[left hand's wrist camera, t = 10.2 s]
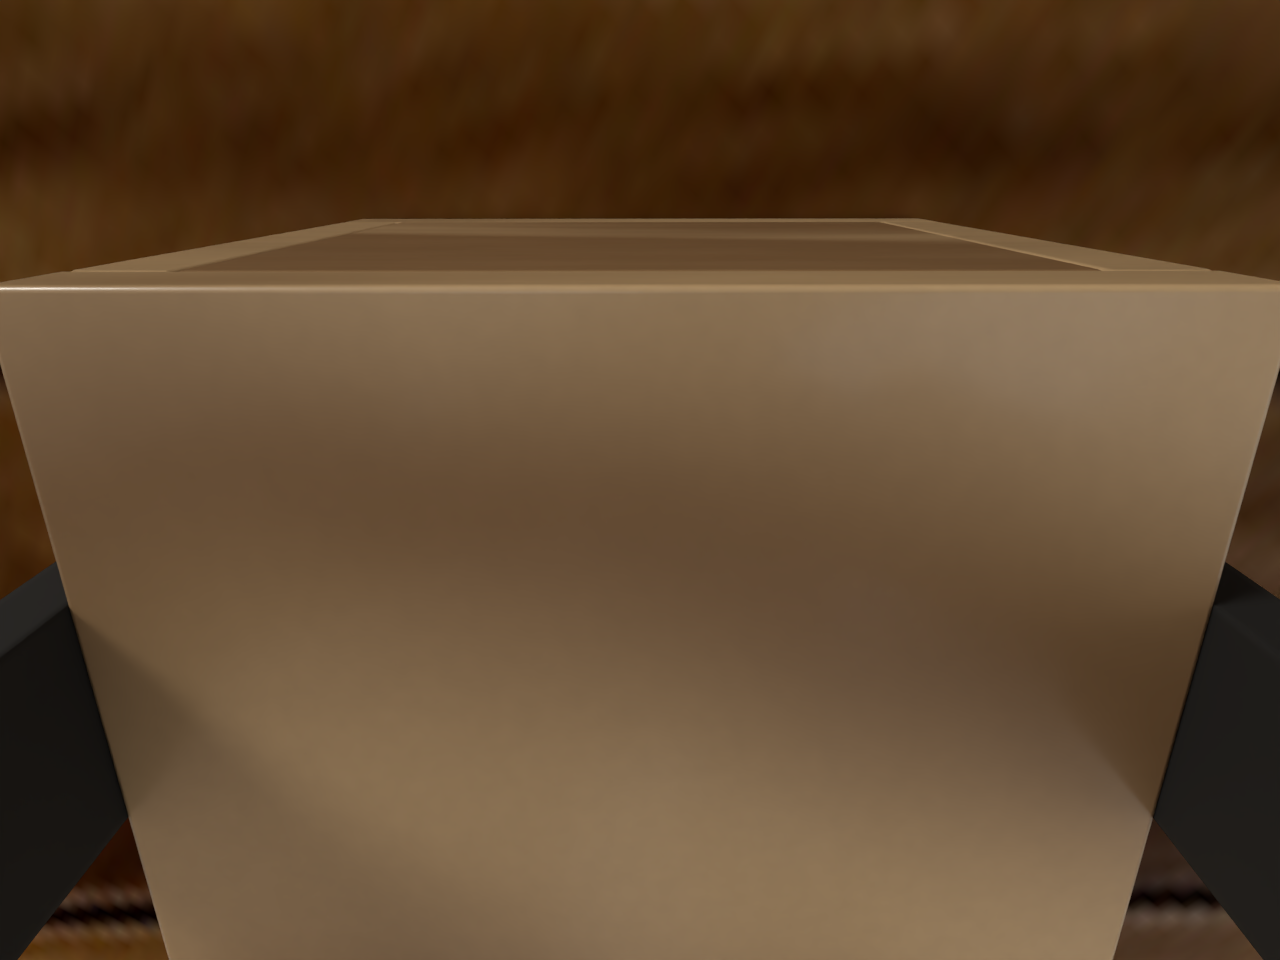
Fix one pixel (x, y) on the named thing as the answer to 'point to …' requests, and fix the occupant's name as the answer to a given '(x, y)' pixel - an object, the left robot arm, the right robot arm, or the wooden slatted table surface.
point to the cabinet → (640, 578)
